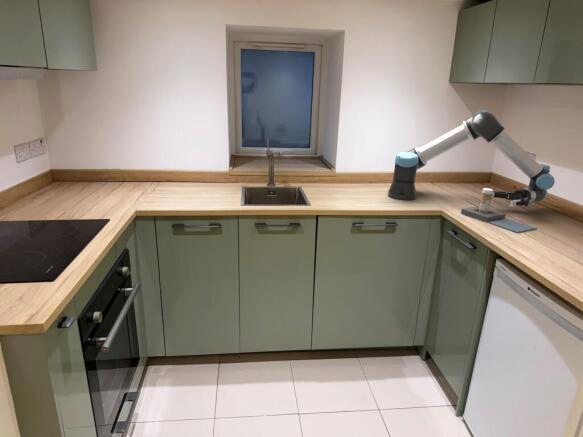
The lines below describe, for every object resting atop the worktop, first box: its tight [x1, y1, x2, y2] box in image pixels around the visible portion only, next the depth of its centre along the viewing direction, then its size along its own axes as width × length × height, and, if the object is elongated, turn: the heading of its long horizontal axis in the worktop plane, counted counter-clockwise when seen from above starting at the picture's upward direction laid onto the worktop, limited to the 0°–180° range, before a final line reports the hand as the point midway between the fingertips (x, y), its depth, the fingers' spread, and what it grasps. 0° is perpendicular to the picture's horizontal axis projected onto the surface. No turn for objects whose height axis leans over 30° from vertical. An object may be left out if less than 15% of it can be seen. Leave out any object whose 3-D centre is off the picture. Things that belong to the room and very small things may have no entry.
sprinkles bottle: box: [479, 187, 494, 214], centre depth 194 cm, size 5×5×14 cm
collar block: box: [460, 205, 507, 223], centre depth 196 cm, size 14×14×2 cm
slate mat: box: [487, 218, 537, 234], centre depth 184 cm, size 14×14×1 cm
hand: (497, 200), depth 197 cm, fingers open, 13 cm apart
